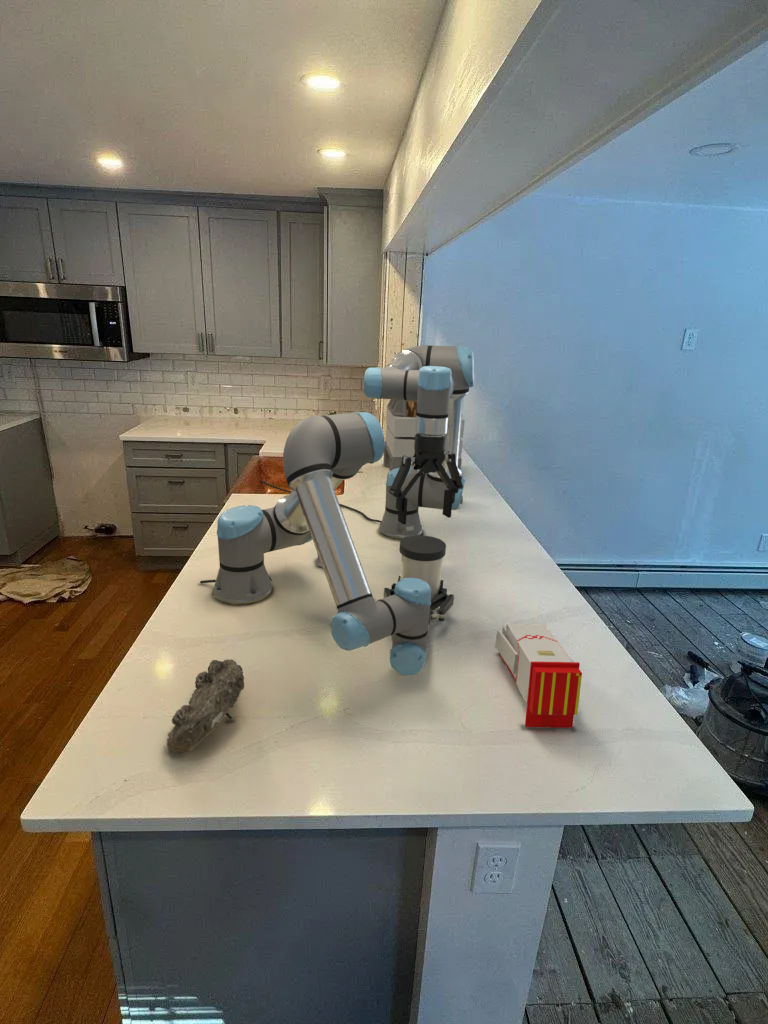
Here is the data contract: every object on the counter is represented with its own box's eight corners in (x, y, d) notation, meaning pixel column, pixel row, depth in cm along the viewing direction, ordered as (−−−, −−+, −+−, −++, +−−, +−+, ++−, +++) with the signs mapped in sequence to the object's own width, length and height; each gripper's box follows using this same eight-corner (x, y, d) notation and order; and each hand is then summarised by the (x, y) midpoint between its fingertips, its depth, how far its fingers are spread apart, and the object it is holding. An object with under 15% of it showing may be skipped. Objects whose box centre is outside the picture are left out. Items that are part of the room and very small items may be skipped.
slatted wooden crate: (382, 463, 289) (386, 382, 275) (445, 464, 293) (451, 384, 279) (390, 482, 257) (394, 392, 243) (460, 483, 261) (468, 394, 247)
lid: (413, 539, 152) (414, 531, 151) (453, 550, 146) (453, 542, 145) (390, 553, 142) (391, 545, 141) (431, 565, 136) (432, 557, 136)
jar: (410, 597, 156) (415, 534, 150) (444, 608, 151) (450, 544, 145) (391, 612, 148) (394, 546, 142) (426, 625, 143) (431, 557, 137)
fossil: (192, 660, 117) (244, 628, 112) (224, 691, 120) (276, 661, 115) (142, 746, 98) (202, 712, 93) (182, 779, 101) (242, 748, 96)
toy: (542, 608, 134) (591, 669, 104) (537, 660, 136) (583, 734, 107) (491, 607, 133) (526, 668, 104) (487, 660, 136) (520, 733, 107)
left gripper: (363, 633, 133) (377, 590, 154) (461, 644, 131) (462, 599, 151) (364, 605, 131) (379, 565, 152) (464, 616, 128) (465, 574, 149)
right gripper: (464, 428, 142) (457, 508, 150) (377, 433, 131) (373, 520, 139) (482, 434, 136) (473, 517, 143) (392, 440, 125) (388, 531, 132)
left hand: (420, 582), depth 151 cm, fingers closed on jar, 10 cm apart
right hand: (424, 519), depth 141 cm, fingers open, 12 cm apart
